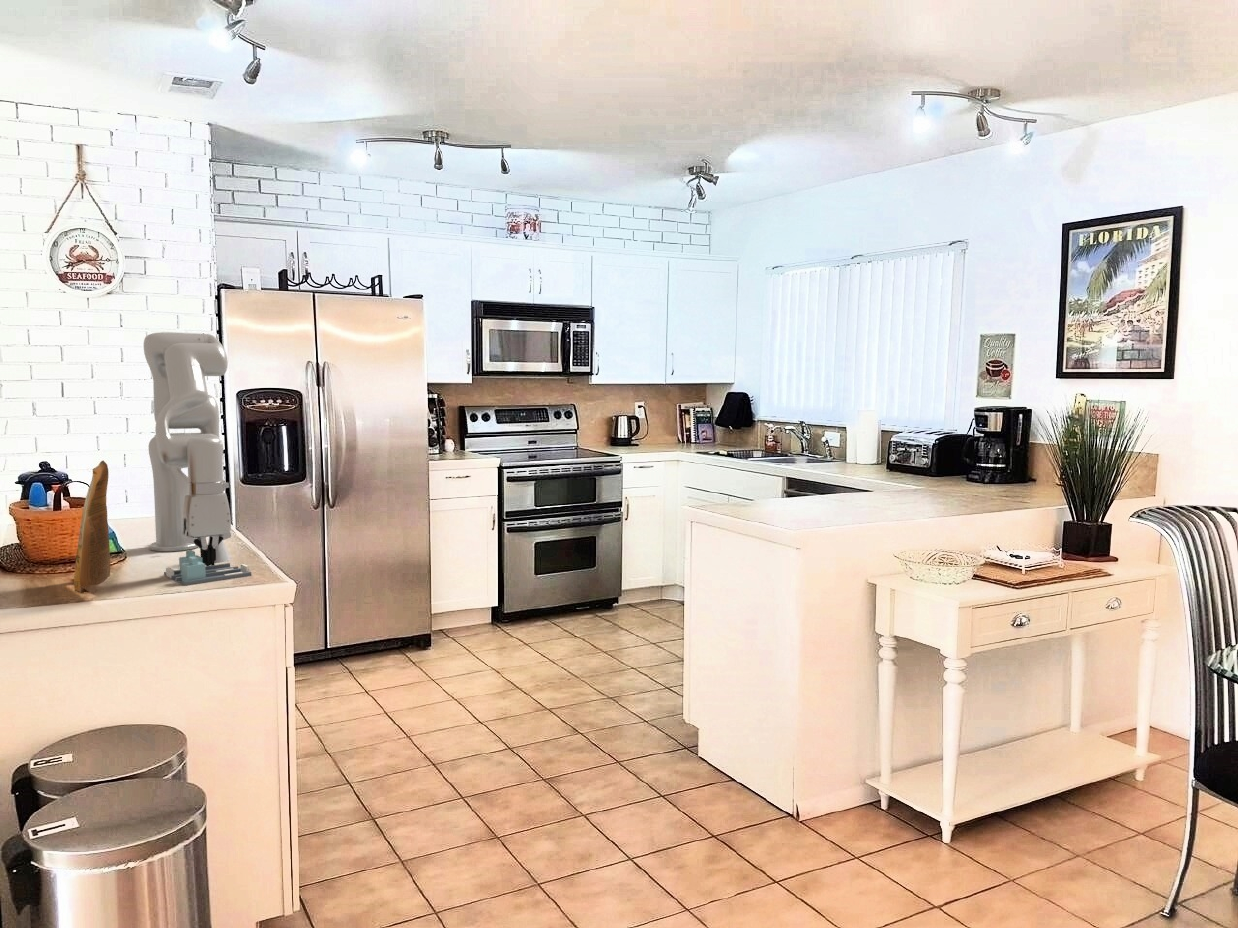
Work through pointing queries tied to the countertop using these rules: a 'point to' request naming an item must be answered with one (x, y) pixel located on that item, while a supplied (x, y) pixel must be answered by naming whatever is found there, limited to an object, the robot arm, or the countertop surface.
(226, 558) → the flask
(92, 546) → the pancake mix bag
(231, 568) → the switch bank
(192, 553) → the tab
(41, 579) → the countertop surface
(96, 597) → the countertop surface
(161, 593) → the countertop surface
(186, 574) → the tab
